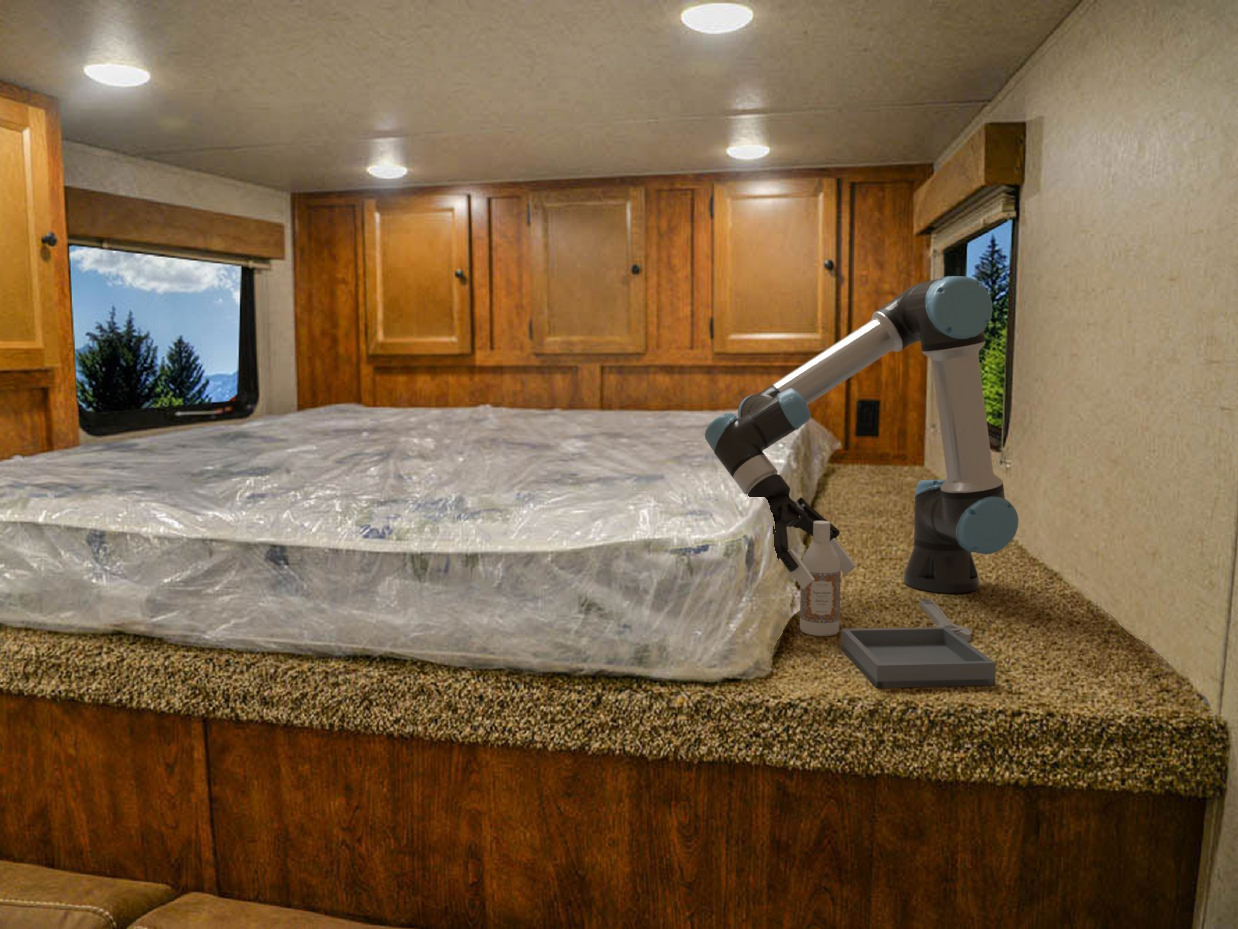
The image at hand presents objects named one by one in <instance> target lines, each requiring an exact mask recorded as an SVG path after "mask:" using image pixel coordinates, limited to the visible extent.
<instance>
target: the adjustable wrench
mask: <svg viewBox="0 0 1238 929" xmlns="http://www.w3.org/2000/svg"><path fill="white" fill-rule="evenodd" d="M918 604H919V606H920V608H922V610H923V611H924V612H925V614H926V615H927V616H928V617H929V618H930V620H932V622H933V623H934V624H935V625H936V627H947V628H948V629H950V630H951V631H953V632H954V633H955V634H957V635H958V636H959V637H961V638H962V639H964V640H965V641H966V642H968V643H969V642H970V641H972V640H971V639H972V630H971V628H970V627H965V626H960V625H957V624H954V623H953V622H951V620H950V619H949V618H948V616H946V614H945V613H944V612H943V611H942V608H940V607H939V605H938V604H937V603H936V602H935V601H934V599H930V598H921V599H920V598H919V603H918Z"/></svg>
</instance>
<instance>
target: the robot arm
mask: <svg viewBox="0 0 1238 929" xmlns="http://www.w3.org/2000/svg"><path fill="white" fill-rule="evenodd" d="M992 301H993V300H992V299H991V296H990V294H989V292H988V290H987V289H986V288H985V286H984V285H983V284H981V283H980V282H978V281H977V280H975V279H974V278H971V277H968V276H956V275H951V276H949V275H946V276H943V277H941V278H937V279H931V280H926V281H921V282H918V283H917V284H915V285H914V284H913V285H912V286H910V287H908V288H907V289H906V290H904V291H902V293H900V294H899V295H897V296H895V297H894V298H893V299H892V300H890V301H889V302H887V303H886V304H885V305H883V306H882V307H881V308H879V309H878V310H875V311H874V312H873V313H872V315H871V320H869V321H868V322H867V323H865V324H863V325H862V326H860V327H859V328H857V329H856V330H853V331H852V332H851V333H850V334H848V335H846V336H845V337H843V338H842V339H840V340H838V341H837V342H836V343H834V344H833V345H831V346H829V347H828V348H826V349H825V350H823V351H822V352H820V353H819V354H817V355H816V356H814V357H813V358H811V359H808V361H806V362H804V363H803V364H801V365H800V366H799V367H797V368H795V369H794V370H792V371H791V372H789V373H788V374H786V375H785V376H783V377H781V378H780V379H778V380H777V381H776V382H774V383H772V384H771V385H770V386H768V387H766V388H765V389H763V390H762V391H760V392H758V393H756V394H755V393H754V394H751V395H749V396H746V397H744V399H742V400H741V402H740V404H739V406H738V410H737V415H736V414H734V412H733V413H732V412H726V413H725V414H723V415H719V416H717V417H716V418H715V419H713V420H712V421H711V422H710V423H709V424H708V426H707V427H706V428H705V433H704V437H705V440H706V442H707V443H708V445H709V447H710V448H711V450H712V451H713V453H714V455H715V456H716V457H717V459H718V460H719V461H720V463H721V464H722V465H723V467H724V468H725V469H726V471H727V472H728V473H729V475H730V476H731V478H732V479H733V480H734V481H735V483H736V484H737V486H738V487H739V488H740V490H741V491H742V493H743V495H745V494H746V495H745V496H747V497H748V496H749V497H765V498H766V499H767V500H768V503H769V505H770V510H771V512H772V513H773V517H774V521H775V529H774V526H773V534H774V547H775V551H776V553H777V558H778V560H777V561H779V560H781V562H782V564H783V565H784V566H785V568H787V570H788V571H789V572H790V573H791V575H792V576H793V578H794V579H795V581H796V582H797V583H798V584H799V586H800V587H802V589H805V588H806V587H807V586H808V585H809V584H810V583H812V582H813V581H814V580H815V579H814V577H813V576H812V575H811V573H810V572H809V571H808V569H807V568H806V566H805V565H804V564H803V562H802V559H801V558H800V557H799V555H798V554H797V553H796V551H795V550H794V548H792V549H789V540H788V530H787V527H789V528H792V527H793V528H795V529H800V530H802V531H803V532H805V533H806V534H808V535H810V536H811V537H813V523H814V521H828V520H827V519H826V518H825V517H824V516H822V515H821V514H820V513H819V512H818V511H816V509H814V508H813V507H811V506H810V504H809V503H808V502H807V501H806V500H805V499H804V498H803V497H799V498H798V499H797V500H796V501H795V500H793V499H792V498H791V497H790V492H791V488H790V486H789V485H788V483H787V482H786V480H785V479H784V478H783V477H782V475H781V474H778V472H779V471H778V470H777V468H776V467H775V466H774V465H773V463H772V462H771V460H770V459H769V458H768V456H766V454H765V453H764V452H763V451H765V450H766V449H768V448H770V447H771V446H773V445H774V444H775V443H777V442H778V441H780V440H782V439H783V438H785V437H787V436H788V435H790V434H792V433H794V432H795V431H796V430H799V429H800V428H801V427H802V426H804V425H805V424H806V423H807V422H809V421H810V419H811V411H810V408H809V406H808V405H810V404H811V403H813V402H814V401H817V400H818V399H819V398H820V397H822V396H823V395H825V394H827V393H828V392H829V391H831V390H832V389H834V388H836V387H837V386H839V385H841V384H842V383H844V382H845V381H847V380H848V379H850V378H851V377H853V376H855V375H856V374H858V373H859V372H860V371H862V370H863V369H865V368H867V367H868V366H870V365H872V364H873V363H875V362H876V361H878V360H879V359H881V358H882V357H884V356H885V355H887V354H888V353H890V352H892V351H893V352H896V353H898V352H901V351H902V350H904V349H905V348H907V347H908V346H911V345H913V344H915V343H918V342H920V346H921V353H922V354H923V355H925V357H927V358H929V359H930V360H931V361H930V362H931V367H932V374H933V380H934V390H935V397H936V404H937V411H938V417H939V418H938V419H939V420H938V421H939V428H940V433H941V442H942V449H943V456H944V463H945V471H946V479H922V480H920V481H918V482H917V484H916V485H915V494H914V528H913V529H914V533H913V549H912V552H911V554H910V557H909V560H908V561H907V565H906V567H905V570H904V574H903V575H904V576H903V583H904V584H905V585H907V586H908V587H910V588H913V589H917V590H921V591H925V592H926V591H927V592H932V593H933V592H934V593H943V594H945V593H946V594H961V593H963V594H964V593H969V592H970V593H971V592H974V591H976V590H978V589H979V582H980V581H979V580H980V578H979V574H978V571H977V568H976V567H977V566H976V564H975V560H974V557H973V553H975V554H980V555H989V554H990V555H991V554H995V553H997V552H1000V551H1002V550H1003V549H1004V548H1007V547H1008V546H1009V544H1010V542H1011V541H1012V540H1013V539H1014V538H1015V537H1016V535H1017V531H1018V528H1019V514H1018V512H1017V509H1016V508H1015V507H1014V505H1013V504H1012V503H1011V501H1010V500H1007V499H1006V496H1005V488H1004V487H1005V486H1004V482H1003V479H1001V478H1000V477H999V476H997V475H996V474H995V473H994V469H993V461H992V453H991V445H990V444H991V443H990V438H989V428H988V422H987V421H988V420H987V413H986V406H985V398H984V397H985V396H984V387H983V382H982V373H981V366H980V358H979V353H980V351H981V349H982V348H983V346H985V344H986V338H985V337H986V335H985V329H986V328H987V326H988V324H989V322H990V321H991V319H992V316H993V315H992V314H993V303H992ZM747 494H748V495H747ZM775 531H776V532H775ZM840 533H841V532H840V530H839V529H838V528H837V527H836V526H835V525H833V523H831V522H830V544H831V545H832V547H833V548H834V550H835V552H836V553H837V555H838V558H839V561H840V568H841V573H843V575H844V576H847V575H849V574H850V573H851V572H852V571H853V570H854V569H855V568H857V565H856V563H855V562H854V560H853V559H852V558H851V557H850V555H849V554H848V552H847V551H846V550H845V549H844V547H843V546H842V544H841V543H840V542H839V541H838V538H837V537H839V536H840Z"/></svg>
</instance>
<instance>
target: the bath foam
mask: <svg viewBox="0 0 1238 929" xmlns="http://www.w3.org/2000/svg"><path fill="white" fill-rule="evenodd" d="M830 523H831V522H830V521H829V520H827V521H814V523H813V536H812V542H811V544H810V545H809V546H808V547H807V549H806V550H805V552H804V554H803V558H802V559H801V561H802V562H803V564H804V565H805V566H806V568H807V569H808V571H809V572H810V573H811V575H812V576H813V577H814V579H815V580H814V581H813V582H812V583H810V584H809V585H808V586H807V587H806V588H805V589H802V587H801V586H800V589H799V590H800V591H799V592H800V593H799V595H800V598H799V599H800V600H799V602H800V603H799V605H800V606H799V629H800V631H801V632H802V633H803V634H805V635H809V636H815V637H831V636H835V635H837V634H838V633H839V632H840V616H841V614H840V611H841V610H840V609H841V606H840V605H841V573H842V571H841V568H840V561H839V558H838V555H837V553H836V552H835V550H834V548H833V547H832V545H831V544H830Z"/></svg>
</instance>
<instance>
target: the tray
mask: <svg viewBox="0 0 1238 929" xmlns="http://www.w3.org/2000/svg"><path fill="white" fill-rule="evenodd" d="M840 642H841V644H840V649H841V651H842V652H843V653H844V655H846V657H847V658H848V659H850V661H851V662H852V663H853V664H854V665H855V666H856V667H857V668H858V669H859V670H860V672H862V674H863V675H864V676H865V677H866V679H868V680H869V681H870V682H871V684H872V686H874V687H875V688H876V689H890V688H891V689H892V688H894V689H895V688H897V689H898V688H900V689H901V688H937V687H939V688H941V687H942V688H943V687H949V688H950V687H983V686H984V687H986V686H990V687H991V686H996V664H997V663H996V662H995V661H994V660H993V659H991V658H990V657H988V656H987V655H986V654H984V653H983V652H981V651H980V650H979V649H977V648H976V647H974V645H972V644H971V643H969V642H966V641H965V640H964V639H962V638H961V637H959V636H958V635H957V634H955V633H954V632H953V631H951V630H950V629H948V628H947V627H938V626H936V627H935V626H934V627H930V626H929V627H928V626H926V627H925V626H924V627H923V626H921V627H886V628H885V627H879V628H877V627H875V628H872V627H871V628H841V641H840Z"/></svg>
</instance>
